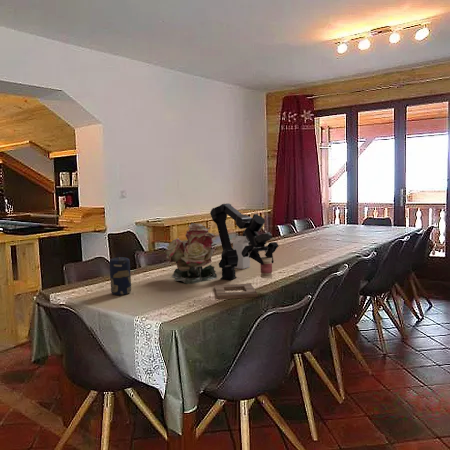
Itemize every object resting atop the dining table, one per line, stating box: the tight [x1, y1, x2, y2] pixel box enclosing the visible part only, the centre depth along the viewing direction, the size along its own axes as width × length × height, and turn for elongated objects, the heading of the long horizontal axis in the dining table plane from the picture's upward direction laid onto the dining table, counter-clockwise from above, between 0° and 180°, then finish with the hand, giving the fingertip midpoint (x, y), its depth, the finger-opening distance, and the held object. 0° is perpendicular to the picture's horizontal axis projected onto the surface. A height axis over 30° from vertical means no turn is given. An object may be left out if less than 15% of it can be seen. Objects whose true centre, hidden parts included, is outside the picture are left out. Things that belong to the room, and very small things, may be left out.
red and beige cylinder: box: [259, 256, 273, 279], centre depth 208 cm, size 6×6×9 cm
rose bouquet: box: [164, 222, 218, 285], centre depth 239 cm, size 26×29×30 cm
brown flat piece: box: [213, 282, 259, 300], centre depth 208 cm, size 20×18×2 cm
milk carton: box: [232, 235, 251, 270], centre depth 264 cm, size 7×7×19 cm
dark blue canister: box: [108, 256, 132, 296], centre depth 211 cm, size 10×10×18 cm
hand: (268, 263), depth 207 cm, fingers closed on red and beige cylinder, 5 cm apart
